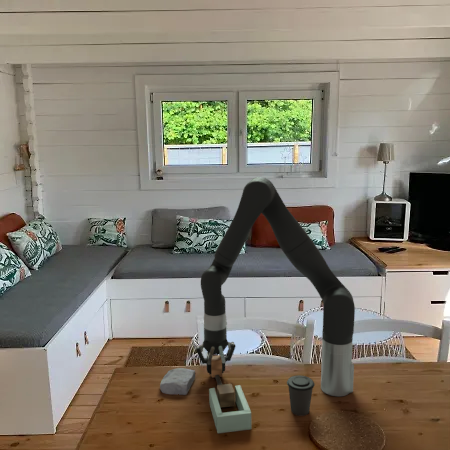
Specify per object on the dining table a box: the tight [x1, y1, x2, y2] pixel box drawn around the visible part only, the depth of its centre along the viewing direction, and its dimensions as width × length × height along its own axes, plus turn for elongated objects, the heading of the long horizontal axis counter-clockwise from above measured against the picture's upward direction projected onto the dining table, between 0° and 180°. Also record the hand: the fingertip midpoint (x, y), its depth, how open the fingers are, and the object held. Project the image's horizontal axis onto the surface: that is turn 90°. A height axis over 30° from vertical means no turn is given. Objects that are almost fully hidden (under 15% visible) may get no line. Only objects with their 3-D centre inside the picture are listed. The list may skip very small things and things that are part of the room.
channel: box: [208, 384, 252, 434], centre depth 139 cm, size 10×15×5 cm, turn 10°
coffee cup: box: [286, 375, 316, 417], centre depth 140 cm, size 8×8×10 cm
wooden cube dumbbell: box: [210, 354, 236, 408], centre depth 152 cm, size 4×21×6 cm, turn 11°
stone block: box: [159, 367, 196, 396], centre depth 156 cm, size 12×5×10 cm
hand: (215, 372), depth 161 cm, fingers closed on wooden cube dumbbell, 3 cm apart
